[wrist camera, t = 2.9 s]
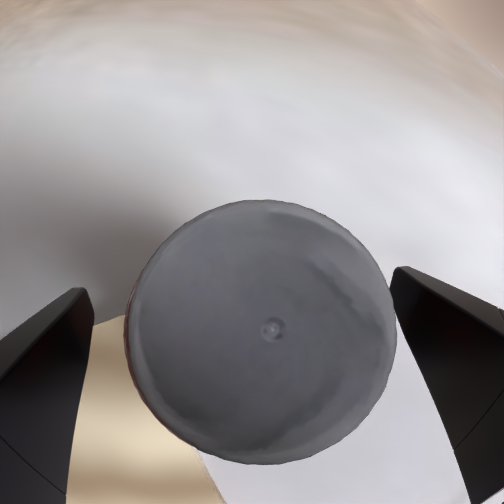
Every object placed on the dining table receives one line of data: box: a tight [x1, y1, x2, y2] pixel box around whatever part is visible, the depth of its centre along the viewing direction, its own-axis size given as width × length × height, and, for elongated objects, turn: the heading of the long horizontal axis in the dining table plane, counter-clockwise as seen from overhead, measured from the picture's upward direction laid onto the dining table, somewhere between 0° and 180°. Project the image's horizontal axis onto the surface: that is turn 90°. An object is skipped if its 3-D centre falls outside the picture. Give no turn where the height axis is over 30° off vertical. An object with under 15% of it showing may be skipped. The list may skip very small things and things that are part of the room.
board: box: [66, 314, 226, 504], centre depth 12 cm, size 16×12×1 cm
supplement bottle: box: [123, 200, 397, 465], centre depth 10 cm, size 6×6×11 cm
